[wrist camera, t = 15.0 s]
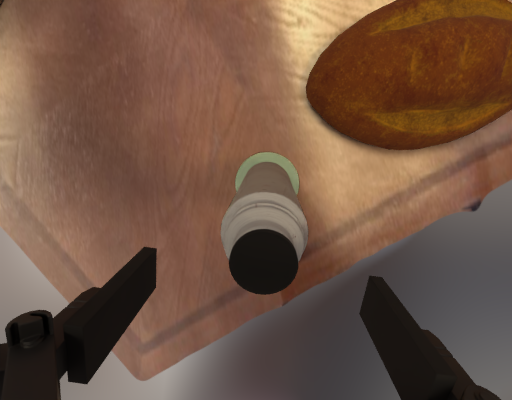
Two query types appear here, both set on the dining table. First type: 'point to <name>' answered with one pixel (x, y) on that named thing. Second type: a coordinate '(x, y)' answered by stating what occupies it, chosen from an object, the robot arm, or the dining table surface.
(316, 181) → the dining table surface
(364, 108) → the bread
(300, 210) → the thermos bottle
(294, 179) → the trivet
